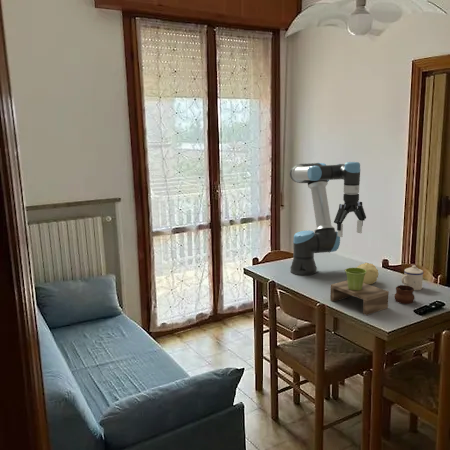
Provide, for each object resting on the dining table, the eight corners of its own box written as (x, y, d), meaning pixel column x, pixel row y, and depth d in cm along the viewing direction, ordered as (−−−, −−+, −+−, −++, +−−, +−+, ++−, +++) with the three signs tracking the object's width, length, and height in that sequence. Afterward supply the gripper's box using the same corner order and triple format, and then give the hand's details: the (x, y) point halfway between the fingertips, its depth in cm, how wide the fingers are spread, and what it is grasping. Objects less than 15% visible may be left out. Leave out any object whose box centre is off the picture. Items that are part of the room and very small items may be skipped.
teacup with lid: (412, 283, 237) (413, 262, 234) (426, 289, 228) (427, 266, 226) (394, 287, 232) (395, 265, 230) (408, 292, 224) (409, 270, 222)
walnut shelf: (330, 300, 216) (330, 284, 215) (351, 294, 224) (351, 279, 222) (366, 315, 198) (367, 297, 196) (387, 308, 205) (388, 291, 204)
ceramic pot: (381, 294, 223) (382, 280, 222) (419, 295, 221) (420, 281, 219) (388, 308, 206) (389, 293, 204) (429, 310, 203) (430, 295, 202)
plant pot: (370, 289, 207) (370, 271, 205) (356, 293, 202) (356, 274, 200) (354, 284, 215) (354, 266, 213) (340, 288, 210) (340, 270, 208)
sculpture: (379, 286, 234) (380, 266, 232) (355, 285, 236) (356, 265, 234) (376, 279, 245) (377, 260, 243) (353, 279, 247) (354, 259, 245)
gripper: (338, 196, 216) (337, 239, 221) (374, 191, 229) (372, 232, 233) (327, 194, 222) (326, 236, 227) (363, 190, 235) (361, 229, 240)
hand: (349, 234), depth 230 cm, fingers open, 13 cm apart
